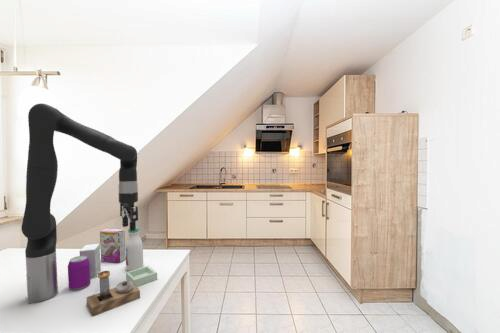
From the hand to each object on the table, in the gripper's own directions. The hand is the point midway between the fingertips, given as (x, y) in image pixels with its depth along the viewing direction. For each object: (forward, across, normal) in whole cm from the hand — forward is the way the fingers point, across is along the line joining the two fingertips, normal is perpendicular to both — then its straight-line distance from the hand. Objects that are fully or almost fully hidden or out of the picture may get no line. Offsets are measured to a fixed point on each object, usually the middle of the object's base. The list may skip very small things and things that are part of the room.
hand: (128, 228), depth 110 cm
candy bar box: (+24, -30, +2) cm, 38 cm away
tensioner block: (+24, +11, -10) cm, 28 cm away
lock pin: (+24, +11, -13) cm, 29 cm away
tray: (+24, +2, +4) cm, 24 cm away
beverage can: (+24, -12, -16) cm, 31 cm away
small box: (+24, -21, -10) cm, 33 cm away
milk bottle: (+24, -12, +7) cm, 28 cm away
